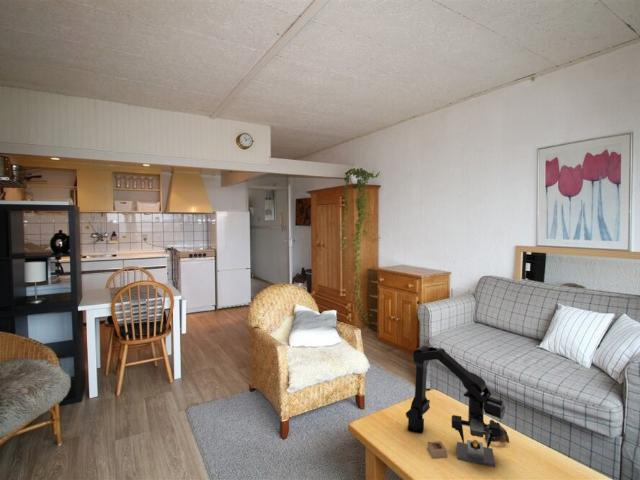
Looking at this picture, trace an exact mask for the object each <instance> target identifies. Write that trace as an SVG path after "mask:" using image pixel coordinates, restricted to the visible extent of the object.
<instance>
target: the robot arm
mask: <svg viewBox="0 0 640 480" xmlns="http://www.w3.org/2000/svg"><path fill="white" fill-rule="evenodd" d="M412 357H413V358H412V360H413V363H414V364H415V384H414V397H413V399H412V401H411V405H410V409H408V410H407V411H405V416H406V418H407V419H408V421H407V422H408V425H407V431H408V432H412V433H418V434H423V431H424V429H425V418H424V415H425V413H427V412H428V411H429V410H430V408H431V406H430V402H431V400H430V399H428V398H427V396H426V392H427V391H426V390H427V375H428V373H427V372H428V366H429V363H430V361H434V360H437V361H439V363H441V364H442V366H444V367H446V369H448V370H449V371H450V372H451V373H452V374H453V375H455V377H457V378H458V379H459V381H461V383H462V385H463V387H464V389H466V390H467V391H465V392H464V393H463V397H466V398H468V413H467V415H468V416H467V417H468V420H463V419H462V416H461V415H457V414H456V415H455V414H453V415H452V416H451V428H452V429H454V430H455V431H457V432H458V434H459V436H460V439H461V441H462V442H461V443H465V437H464V428H463V427H468V428H469V431H470V432H469V433H470V436H473V437H478V438H484V437H485V435H487V434H488V437H487V440H486V447H487V448H490V445H491V443H492V440H493V438H498V437H501V436H502V430H501V426H502V425H501V424H500V423H499V422H496V421H494V422H491V421H490V420H489V421H490V422H489V423H485V421H484V413H485V414H487V415H489V416H492V417H495V418H498V419H500V420H503V419H504V417H505V412H506V407H505V404H504V401H503V400H502V399H498V398H495V397H491V396H492V393H491V391H490V389H489V388H488V386H487V385H486V384H487V383H486V381H485V380H484V378H482V377H480V375H477V374H476V373H473V372H470V371H469V370H467V369H466V368H465V367H464V366H462V365H461V364H460V362H458V361H457V360H456V359H455V358H453V357H452V356H451V355H450V354H449V353H448V352H447V351H446V350H445V349H444V348H443V347H442V348H441V347H434V346H429V347H428V346H427V345H421V346H420V347H419V346H418V348H416V349H415V350H414V351H413V352H412ZM482 393H483V394H482ZM488 424H489V425H488Z"/></svg>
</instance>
